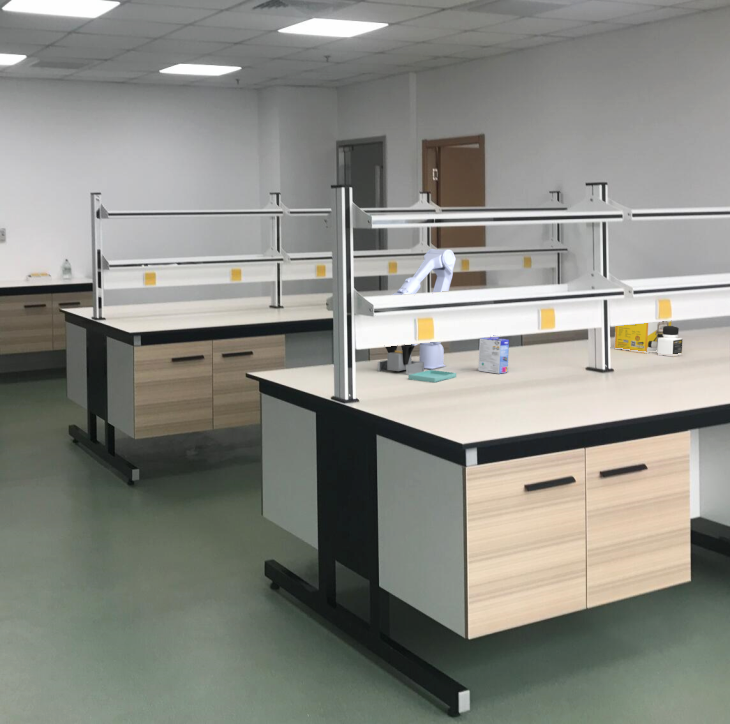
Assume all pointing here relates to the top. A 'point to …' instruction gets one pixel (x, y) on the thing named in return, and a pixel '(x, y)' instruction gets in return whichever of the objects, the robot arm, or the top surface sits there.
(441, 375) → the teal tray
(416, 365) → the printer bay
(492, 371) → the ink cartridge box
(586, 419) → the top surface
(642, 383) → the top surface
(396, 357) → the toner caddy
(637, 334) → the packaging box
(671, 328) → the medicine bottle
